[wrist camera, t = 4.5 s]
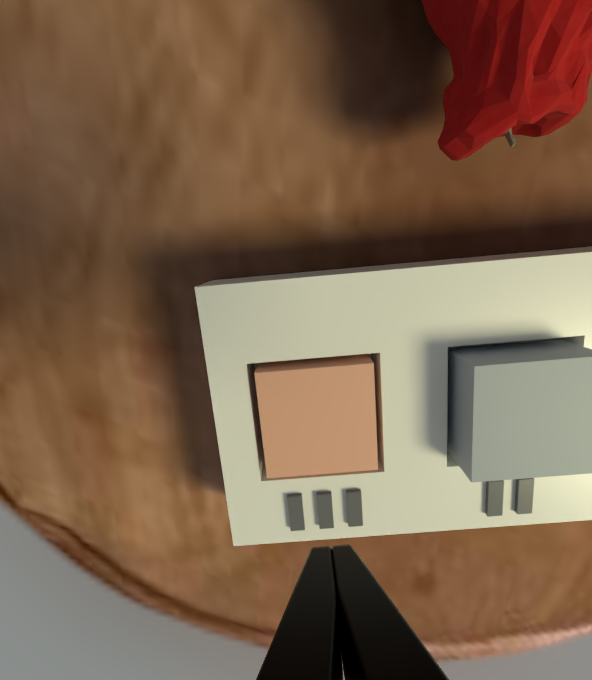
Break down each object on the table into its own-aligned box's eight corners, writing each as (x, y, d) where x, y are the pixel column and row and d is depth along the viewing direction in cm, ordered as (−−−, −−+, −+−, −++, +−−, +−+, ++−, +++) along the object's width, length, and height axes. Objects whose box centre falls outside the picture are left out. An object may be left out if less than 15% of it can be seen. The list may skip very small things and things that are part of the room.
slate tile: (562, 339, 15) (608, 355, 12) (554, 442, 16) (595, 473, 13) (448, 349, 15) (474, 366, 12) (447, 450, 16) (471, 482, 14)
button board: (755, 231, 16) (867, 227, 13) (709, 464, 18) (794, 508, 15) (212, 280, 16) (192, 287, 13) (243, 500, 19) (232, 549, 16)
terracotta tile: (363, 347, 16) (373, 363, 14) (367, 441, 17) (378, 469, 15) (260, 356, 16) (254, 373, 14) (270, 449, 17) (266, 478, 15)
